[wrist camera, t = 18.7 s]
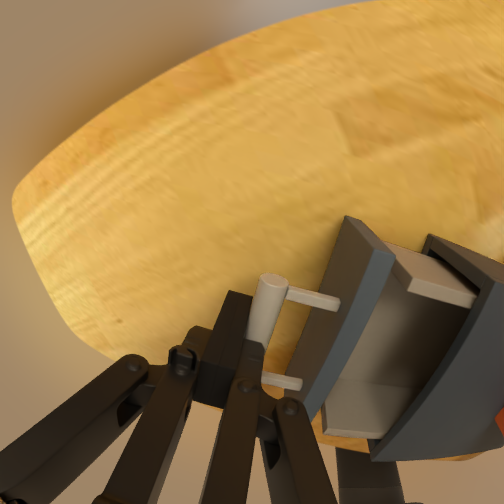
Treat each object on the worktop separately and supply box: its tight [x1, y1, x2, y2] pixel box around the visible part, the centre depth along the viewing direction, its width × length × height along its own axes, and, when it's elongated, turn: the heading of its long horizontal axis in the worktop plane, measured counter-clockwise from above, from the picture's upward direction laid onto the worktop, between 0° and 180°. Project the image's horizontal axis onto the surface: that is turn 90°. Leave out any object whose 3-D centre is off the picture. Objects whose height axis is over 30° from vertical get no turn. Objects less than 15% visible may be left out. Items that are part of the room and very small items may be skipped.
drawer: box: [244, 216, 481, 439], centre depth 17 cm, size 20×14×7 cm
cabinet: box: [367, 234, 504, 461], centre depth 17 cm, size 17×15×9 cm
